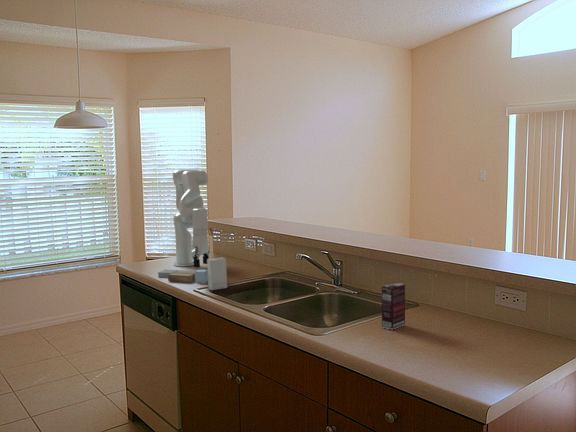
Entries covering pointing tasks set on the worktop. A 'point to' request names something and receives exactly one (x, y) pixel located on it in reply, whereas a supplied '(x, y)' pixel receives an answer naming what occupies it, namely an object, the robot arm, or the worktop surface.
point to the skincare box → (217, 273)
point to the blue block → (201, 276)
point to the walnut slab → (182, 276)
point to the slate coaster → (166, 273)
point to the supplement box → (393, 305)
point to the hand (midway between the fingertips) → (201, 265)
